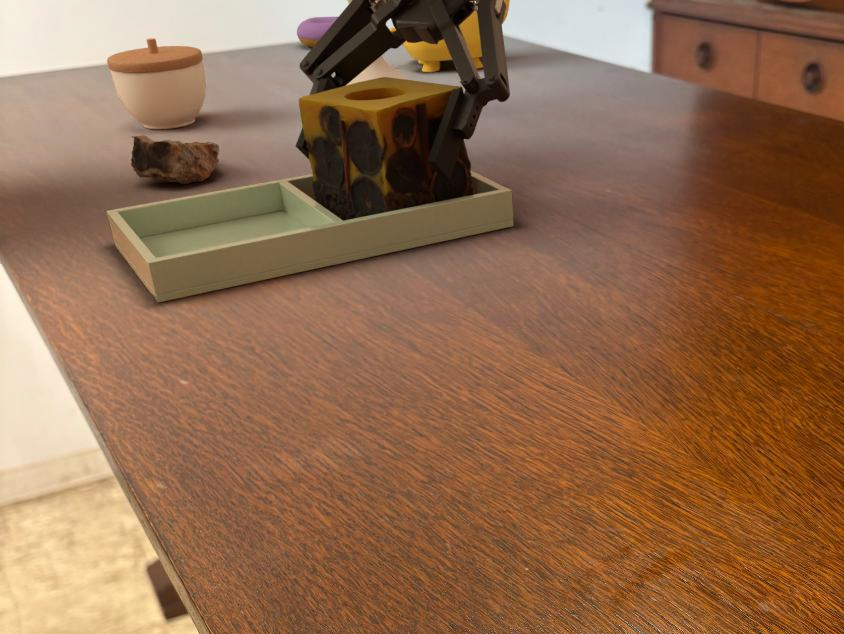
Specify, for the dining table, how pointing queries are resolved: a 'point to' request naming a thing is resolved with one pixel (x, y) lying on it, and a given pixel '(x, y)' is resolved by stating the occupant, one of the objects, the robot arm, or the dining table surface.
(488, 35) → the robot arm
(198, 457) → the dining table surface
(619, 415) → the dining table surface
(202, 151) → the rock
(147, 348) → the dining table surface
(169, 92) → the trinket box
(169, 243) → the tray
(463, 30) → the teapot
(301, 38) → the donut
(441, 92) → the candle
